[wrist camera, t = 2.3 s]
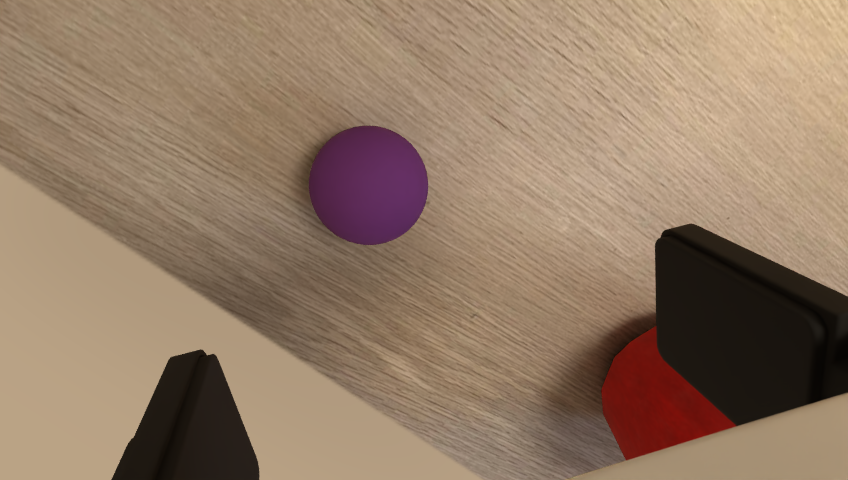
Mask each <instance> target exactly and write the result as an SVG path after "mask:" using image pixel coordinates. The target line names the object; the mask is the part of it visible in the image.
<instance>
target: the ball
mask: <svg viewBox="0 0 848 480" xmlns="http://www.w3.org/2000/svg"><path fill="white" fill-rule="evenodd" d="M309 194H310V198H311V202H312V205H313V208H314V210H315V212H316V214H317V216H318V217H319V219H320V220H321V221H322V223H323V224H324V225H325V226H326V227H327V228H328V229H329V230H330V231H331V232H333V233H334V234H335V235H337V236H339V237H340V238H342V239H344V240H347V241H349V242H353V243H356V244H363V245H376V244H382V243H386V242H389V241H392V240H394V239H396V238H398V237H400V236H401V235H403V234H404V233H405V232H407V231H408V230H409V229H410V228H411V227H412V226H413V225H414V224H415V222H416V221H417V220H418V218H419V216H420V215H421V213H422V211H423V209H424V206H425V203H426V199H427V194H428V178H427V172H426V169H425V165H424V163H423V161H422V159H421V157H420V155H419V154H418V152H417V151H416V149H415V148H414V147H413V146H412V144H411V143H409V142H408V141H407V140H406V139H405V138H403V137H402V136H401V135H399V134H397V133H395V132H393V131H391V130H389V129H386V128H382V127H378V126H358V127H353V128H350V129H347V130H344V131H342V132H340V133H338V134H337V135H335V136H334V137H332V138H331V139H330V140H329V141H328V142H327V143H325V145H324V146H323V147H322V148H321V149H320V151H319V152H318V154H317V155H316V157H315V160H314V162H313V164H312V168H311V171H310V177H309Z"/></svg>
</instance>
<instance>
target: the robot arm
mask: <svg viewBox="0 0 848 480" xmlns="http://www.w3.org/2000/svg"><path fill="white" fill-rule="evenodd" d="M655 271H656V335H657V348H658V351H659V354H660V356H661V357H662V359H663V360H664V361H665V362H666V363H667V364H668V365H669V366H671V367H672V368H673V369H674V370H675V371H676V372H677V373H678V374H679V375H681V376H682V377H683V378H684V379H685V380H686V381H687V382H688V383H689V384H691V385H692V386H693V387H694V388H695V389H696V390H697V391H698V392H699V393H701V394H702V395H703V396H704V397H705V398H706V399H707V400H708V401H709V402H711V403H712V404H713V405H714V406H715V407H716V408H717V409H718V410H720V411H721V412H722V413H723V414H724V415H725V416H726V417H727V418H728V419H730V420H731V421H732V422H733V423H734V424H735V425H736V427H733V428H729V429H726V430H723V431H720V432H716V433H713V434H710V435H707V436H704V437H700V438H697V439H694V440H691V441H687V442H684V443H681V444H678V445H675V446H671V447H668V448H665V449H662V450H659V451H655V452H652V453H649V454H646V455H642V456H639V457H636V458H633V459H630V460H626V461H623V462H620V463H617V464H613V465H610V466H607V467H604V468H601V469H597V470H594V471H591V472H588V473H584V474H581V475H578V476H575V477H572V478H568V479H565V480H848V297H847V296H845V295H843V294H841V293H839V292H837V291H835V290H833V289H830V288H828V287H826V286H824V285H822V284H820V283H818V282H816V281H814V280H811V279H809V278H807V277H805V276H803V275H801V274H799V273H797V272H794V271H792V270H790V269H788V268H786V267H784V266H782V265H780V264H778V263H775V262H773V261H771V260H769V259H767V258H765V257H763V256H761V255H758V254H756V253H754V252H752V251H750V250H748V249H746V248H744V247H741V246H739V245H737V244H735V243H733V242H731V241H729V240H727V239H725V238H722V237H720V236H718V235H716V234H714V233H712V232H710V231H708V230H705V229H703V228H701V227H699V226H697V225H695V224H687V225H683V226H679V227H675V228H672V229H668V230H665V231H664V232H663V233H662V235H661V238H659V239H658V240H657V241H656V244H655ZM112 480H259V466H258V461H257V458H256V455H255V453H254V450H253V447H252V445H251V442H250V440H249V437H248V435H247V432H246V430H245V427H244V424H243V422H242V420H241V417H240V414H239V412H238V409H237V406H236V404H235V402H234V399H233V396H232V394H231V391H230V389H229V386H228V383H227V381H226V378H225V376H224V373H223V371H222V368H221V366H220V363H219V361H218V359H217V357H216V355H214V354H211V355H206V353H205V352H204V351H203V350H197V351H193V352H189V353H185V354H182V355H178V356H174V357H171V358H170V359H169V360H168V363H167V365H166V367H165V369H164V371H163V374H162V376H161V378H160V380H159V383H158V385H157V387H156V389H155V391H154V394H153V396H152V398H151V400H150V403H149V405H148V407H147V409H146V411H145V414H144V416H143V418H142V420H141V423H140V425H139V427H138V429H137V431H136V434H135V436H134V438H132V439H131V441H130V442H129V443H128V445H127V447H126V449H125V451H124V454H123V456H122V458H121V460H120V463H119V464H118V467H117V469H116V471H115V473H114V475H113V478H112Z"/></svg>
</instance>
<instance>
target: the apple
mask: <svg viewBox="0 0 848 480" xmlns="http://www.w3.org/2000/svg"><path fill="white" fill-rule="evenodd" d="M601 393H602V405H603V415H604V417H605V419H606V421H607V423H608V425H609V427H610V429H611V431H612V433H613V435H614V437H615V439H616V441H617V443H618V445H619V447H620V449H621V451H622V453H623V455H624V457H625V459H626V460H630V459H633V458H636V457H639V456H642V455H646V454H649V453H652V452H655V451H659V450H662V449H665V448H668V447H671V446H675V445H678V444H681V443H684V442H687V441H691V440H694V439H697V438H700V437H704V436H707V435H710V434H713V433H716V432H720V431H723V430H726V429H729V428H733V427H736V425H735V424H734V423H733V422H732V421H731V420H730V419H728V418H727V417H726V416H725V415H724V414H723V413H722V412H721V411H720V410H718V409H717V408H716V407H715V406H714V405H713V404H712V403H711V402H709V401H708V400H707V399H706V398H705V397H704V396H703V395H702V394H701V393H699V392H698V391H697V390H696V389H695V388H694V387H693V386H692V385H691V384H689V383H688V382H687V381H686V380H685V379H684V378H683V377H682V376H681V375H679V374H678V373H677V372H676V371H675V370H674V369H673V368H672V367H671V366H669V365H668V364H667V363H666V362H665V361H664V360H663V359H662V357H661V356H660V354H659V351H658V348H657V335H656V326H655V327H653V328H652V329H650V330H649V331H647V332H645V333H644V334H642V335H640V336H639V337H637V338H636V339H634V340H632V341H631V342H630V343H629V344H628V345H627V346H626V347H624V348H623V349H622V350H621V351H620V352H619V353H618V354H617V355H616V356H615V357H614V359H613V362H612V364H611V366H610V369H609V371H608V373H607V376H606V379H605V382H604V384H603V387H602V390H601Z"/></svg>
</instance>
